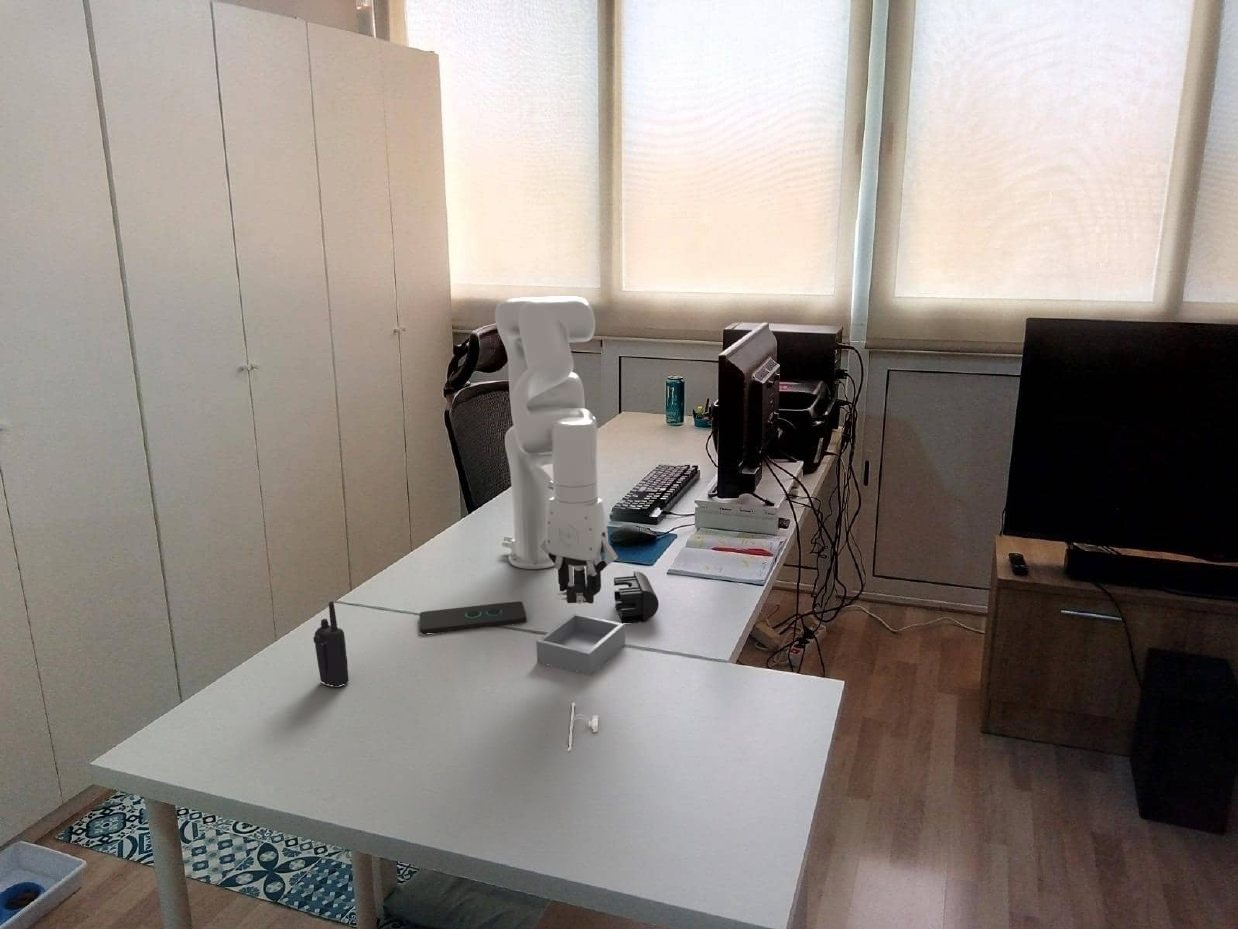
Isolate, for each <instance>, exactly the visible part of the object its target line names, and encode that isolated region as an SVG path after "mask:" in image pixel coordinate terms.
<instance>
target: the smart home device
mask: <svg viewBox="0 0 1238 929" xmlns="http://www.w3.org/2000/svg"><path fill="white" fill-rule="evenodd" d="M527 622H528V618H527V613H526V610H525V607H524V604H523V601H521V600H517V601H510V602H500V603H490V604H480V605H471V606H464V607H463V606H461V607H454V608H452V607H451V608H445V609H437V610H436V609H435V610H428V611H427V610H426V611H421V612H419V630H420V633H422V634H427V633H435V634H442V632H444V633H450V632H449V631H453V632H460V630H461V631H469V630H476V629H486V628H487V629H488V628H493V627H494V628H495V627H501V626H502V627H503V626H512V624H513V625H521V624H520V623H522V624H526V623H527ZM420 633H419V634H420ZM427 635H428V634H427Z"/></svg>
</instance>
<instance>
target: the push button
mask: <svg viewBox="0 0 1238 929" xmlns="http://www.w3.org/2000/svg"><path fill="white" fill-rule="evenodd" d="M564 558H565V557H564ZM565 563H566V564H569V582H568V586H567V589H566V590H565V591H563V592H557V593H556V595H557V596H562V597H557V601H560V600H561V601H566V603H567V604H580V605H581V604H585V603H586V604H587V603H588V604H594V602H595V601H594V600H595V595H594V596H593V597H589V596H588V592H587V576H588V575H589V574H590V572H589V568H588V565H587V562H586V561H582V560H576V559H571V558H565Z"/></svg>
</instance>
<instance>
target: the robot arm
mask: <svg viewBox="0 0 1238 929" xmlns="http://www.w3.org/2000/svg"><path fill="white" fill-rule="evenodd" d="M494 312H495V313H494V316H495V325H496V329H497V332H498V334H499V336H500V340H501V341H502V343H503V346H504V347H505V348H504V349H505V352H506V355H507V356H506V357H507V368H508V387H509V388H508V390H509V402H510V413H511V420H512V426H511V427H509V429H508V430H507V431H506V433H505V435H504V447H505V451H506V457H507V462H508V466H509V474H510V484H511V495H512V496H511V498H512V499H511V500H512V516H513V517H512V518H513V534H514V535H513V536H511V535H504V537H503V541H502V543H501V546H502V547H503V548H510V551H511V552H510V553H509V554H508V562H509V564H511V566H514V567H515V568H519V569H525V570H526V569H527V570H540V569H541V570H542V569H548V568H551V567H554V568H555V569H556V570H557V580H558V584H559V586H558V587H559V591H560V592H566V590H567V586H568V582H569V564H566V563H565V558H571V559H576V560H582V561H586V562H587V565H588V568H589V572H590V574H589V575H588V576H587V592H588V596H589V597H593V596H594V597H595V595H597V594H598V593H599V592H600V591H601V589H602V574H601V573H602V571H604V569H606V567H608V565H609V566H610V564H612V563H613V562H614V561H616V560H618V555H617V553H616V552H615V550H614V549H613V547H612V545H610V543H609V537H608V536H609V535H608V526H607V517H606V512H605V507H604V503H603V500H602V498H599V467H598V466H599V465H598V464H599V463H598V461H599V460H598V430H599V429H598V422H597V419H596V417H595V416H594V415H593V413H592V412H591V411H590V410H588V409H586V407H585V406H586V405H585V402H586V401H585V400H586V399H585V391H584V384H583V382H582V380H581V378H580V376H579V375H578V374H577V373H575V372H573V371H574V368H575V364H574V363H575V362H574V358H573V355H572V350H571V347H570V343H585V342H589V341H590V340H592V338H593V337H594V336H595V332H596V318H595V312H594V310H593V308H592V306H591V304H590V302H589V301H588V300H586V299H585V298H584V297H579V296H576V295H575V296H573V295H568V296H567V295H566V296H542V297H541V296H540V297H539V296H537V297H536V296H533V297H519V298H509V299H505V300H503V301H501V302H498V304H497V306H496V307H495V311H494ZM549 465H552V477H551V475H550V474H549V473H548V472H547V471H546V470H544V469H543V467H544V466H549ZM602 554H603V555H604V558H603V559H602V557H601V555H602ZM564 557H565V558H564Z"/></svg>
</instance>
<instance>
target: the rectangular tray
mask: <svg viewBox="0 0 1238 929" xmlns="http://www.w3.org/2000/svg"><path fill="white" fill-rule="evenodd" d="M625 626H626V624H622V623H621V622H617V621H612V620H607V619H603V618H600V617H594V616H589V615H586V614H580V613H577V612H572V614H571V615H569V616H568V617H566V618H565V619H564V620H562V621H561V622H560V623H558V624H557V625H556V626H555V627H553V628H552V629H551V630H549V631H548V632H547V633H545V634H544V635H543V636H541V637H540V638H538V639H537V640H536V642H535V643H536V660H537V663H539V662H540V664H544V665H547V664H549V665H548V666H551V665H552V666H551V667H555V668H559V667H561V668H560V669H563V668H564V669H563V670H567V669H568V670H567V671H571V670H572V672H574V671H577V672H576V673H578V672H580V673H579V674H582V673H583V675H586V674H589V675H588V676H591V675H592V674H593V673H595V672H596V669H597V668H598V667H599V668H600V667H601V666H602V665H604V664H605V663H606V662H607V661H608V660H609V659H610V658H611V657H612V656H614V655H615V654H616V653H617V652H618V651H619V650H621V648H623V647H624V646H625V645H626V630H625V628H626V627H625ZM605 661H606V662H605ZM599 668H598V669H599ZM598 669H597V670H598ZM590 674H591V675H590Z"/></svg>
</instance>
